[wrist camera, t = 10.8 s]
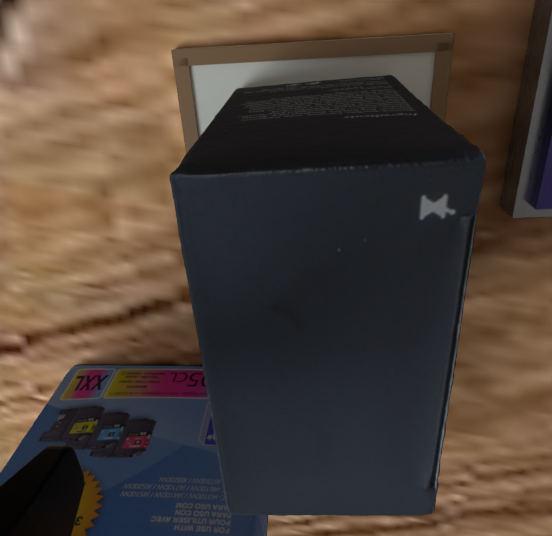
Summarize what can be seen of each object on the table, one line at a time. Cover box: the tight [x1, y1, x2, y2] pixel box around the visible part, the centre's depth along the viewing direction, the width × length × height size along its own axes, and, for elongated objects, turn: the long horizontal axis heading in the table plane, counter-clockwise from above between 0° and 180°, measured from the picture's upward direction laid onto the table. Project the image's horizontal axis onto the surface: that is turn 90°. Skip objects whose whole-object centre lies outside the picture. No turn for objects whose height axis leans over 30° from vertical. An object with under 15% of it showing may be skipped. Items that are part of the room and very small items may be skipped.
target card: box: [171, 33, 454, 154], centre depth 18 cm, size 12×9×1 cm
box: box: [170, 75, 486, 516], centre depth 14 cm, size 9×6×10 cm, turn 4°
